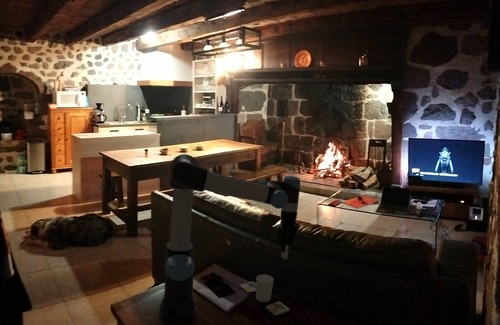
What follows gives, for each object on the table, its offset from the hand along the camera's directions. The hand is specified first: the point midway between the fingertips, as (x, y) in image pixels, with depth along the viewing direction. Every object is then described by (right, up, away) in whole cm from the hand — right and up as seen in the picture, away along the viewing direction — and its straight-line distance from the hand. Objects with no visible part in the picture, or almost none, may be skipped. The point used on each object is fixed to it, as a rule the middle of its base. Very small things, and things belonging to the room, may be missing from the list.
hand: (284, 257), depth 189 cm
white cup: (-10, -18, -3) cm, 21 cm away
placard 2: (-4, -20, -11) cm, 23 cm away
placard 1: (-16, -16, +6) cm, 23 cm away
